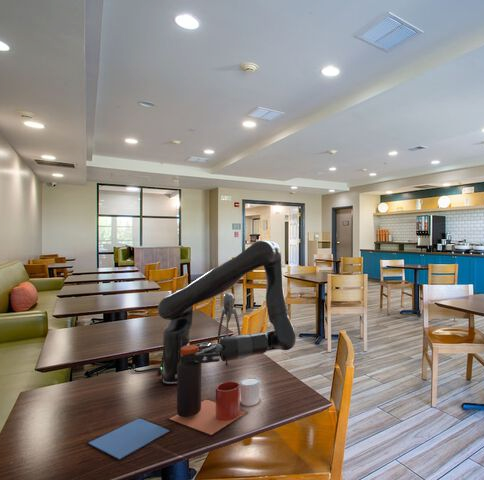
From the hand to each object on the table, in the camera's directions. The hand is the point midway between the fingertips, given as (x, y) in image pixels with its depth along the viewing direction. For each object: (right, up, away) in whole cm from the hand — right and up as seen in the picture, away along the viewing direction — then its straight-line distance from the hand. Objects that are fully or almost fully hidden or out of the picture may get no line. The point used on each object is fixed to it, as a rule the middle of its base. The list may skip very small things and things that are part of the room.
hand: (180, 356), depth 105 cm
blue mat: (-9, -19, -9) cm, 23 cm away
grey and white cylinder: (+18, -19, +11) cm, 29 cm away
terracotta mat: (+8, -19, +2) cm, 21 cm away
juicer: (-3, -19, +50) cm, 54 cm away
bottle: (+2, -18, +2) cm, 18 cm away
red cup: (+14, -19, +3) cm, 24 cm away
